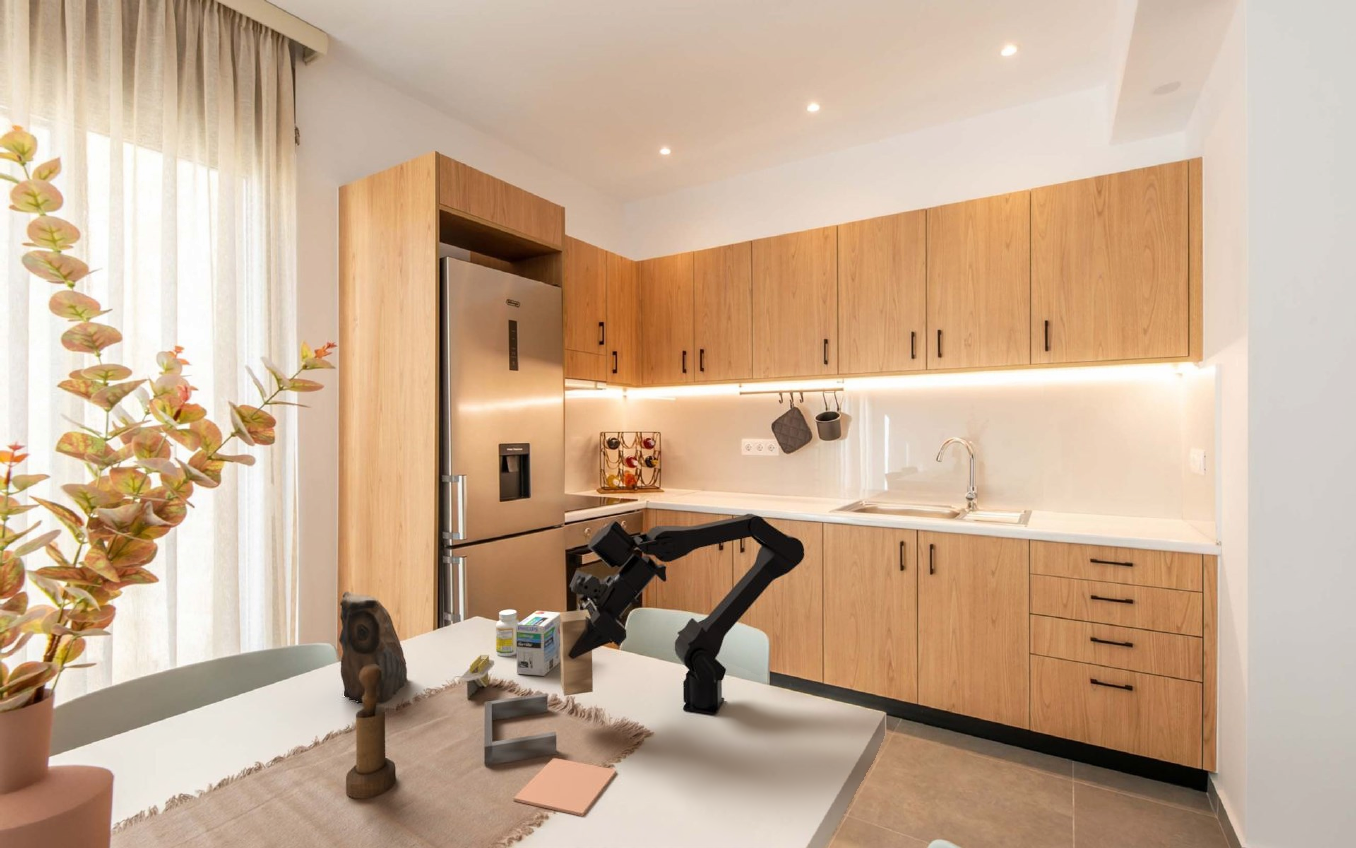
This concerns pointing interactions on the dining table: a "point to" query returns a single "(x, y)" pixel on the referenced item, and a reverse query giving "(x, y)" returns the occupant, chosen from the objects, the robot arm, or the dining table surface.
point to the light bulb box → (538, 643)
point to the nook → (516, 746)
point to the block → (580, 668)
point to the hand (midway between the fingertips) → (568, 651)
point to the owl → (369, 647)
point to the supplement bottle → (506, 633)
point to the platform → (477, 674)
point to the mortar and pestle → (370, 743)
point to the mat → (566, 786)
